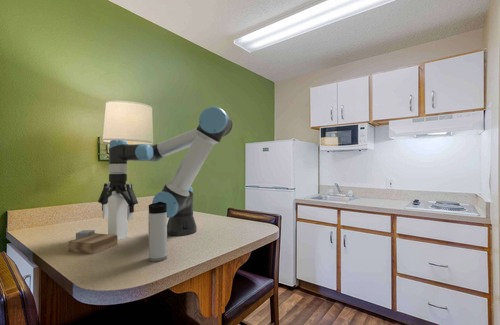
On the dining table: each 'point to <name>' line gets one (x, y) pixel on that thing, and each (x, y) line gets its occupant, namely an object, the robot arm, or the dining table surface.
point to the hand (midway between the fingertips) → (117, 218)
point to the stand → (92, 243)
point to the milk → (117, 216)
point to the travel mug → (157, 231)
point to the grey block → (84, 233)
